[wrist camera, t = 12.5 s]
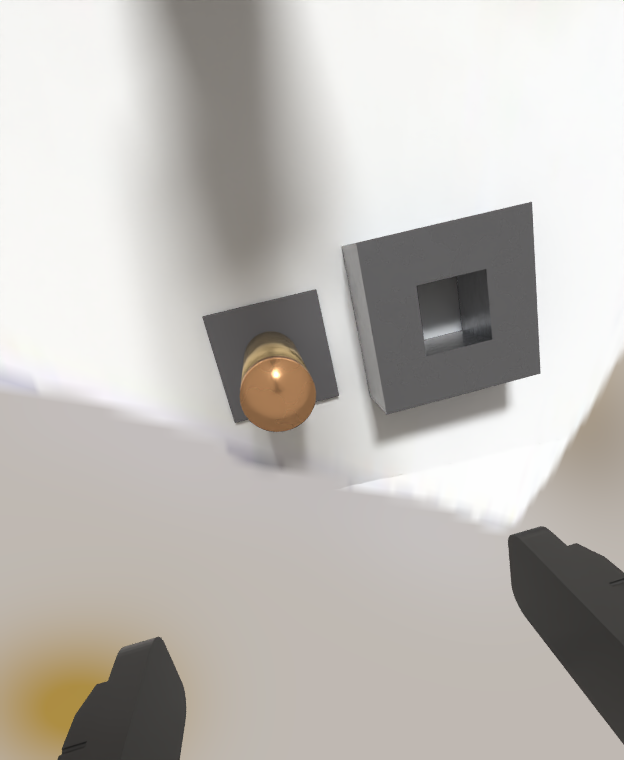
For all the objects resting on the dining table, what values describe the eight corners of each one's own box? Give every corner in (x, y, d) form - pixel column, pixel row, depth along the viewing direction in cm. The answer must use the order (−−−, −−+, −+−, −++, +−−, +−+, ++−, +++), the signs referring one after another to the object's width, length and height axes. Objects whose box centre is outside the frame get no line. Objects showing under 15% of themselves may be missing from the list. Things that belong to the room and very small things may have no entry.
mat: (203, 316, 34) (202, 317, 34) (315, 289, 35) (316, 289, 34) (235, 421, 37) (234, 422, 37) (338, 394, 38) (339, 395, 37)
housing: (341, 246, 34) (355, 243, 29) (494, 210, 35) (531, 201, 30) (370, 395, 38) (386, 414, 33) (505, 360, 39) (540, 373, 34)
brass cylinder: (237, 338, 35) (230, 370, 24) (291, 325, 35) (306, 350, 24) (252, 389, 36) (251, 439, 26) (303, 376, 36) (323, 420, 26)
